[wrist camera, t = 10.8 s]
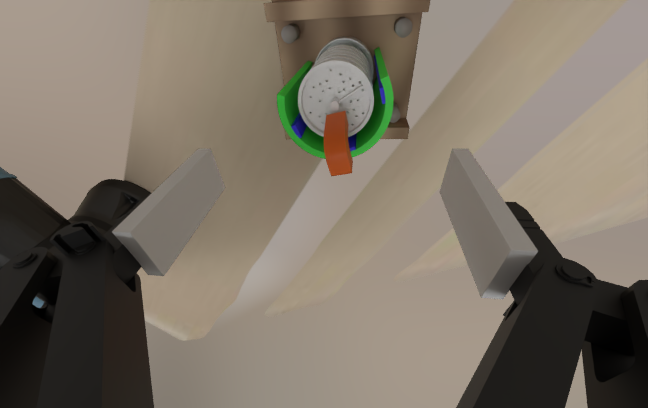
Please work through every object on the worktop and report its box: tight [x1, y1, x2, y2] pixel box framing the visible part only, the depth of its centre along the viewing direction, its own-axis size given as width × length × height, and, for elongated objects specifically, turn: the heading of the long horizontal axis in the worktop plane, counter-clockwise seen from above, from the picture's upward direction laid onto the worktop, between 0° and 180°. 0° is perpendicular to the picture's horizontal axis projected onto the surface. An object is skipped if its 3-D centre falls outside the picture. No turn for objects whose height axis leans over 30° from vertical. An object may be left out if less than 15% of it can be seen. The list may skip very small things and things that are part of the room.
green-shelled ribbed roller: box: [277, 36, 393, 176], centre depth 24 cm, size 9×8×18 cm
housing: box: [264, 0, 430, 139], centre depth 31 cm, size 16×15×4 cm
